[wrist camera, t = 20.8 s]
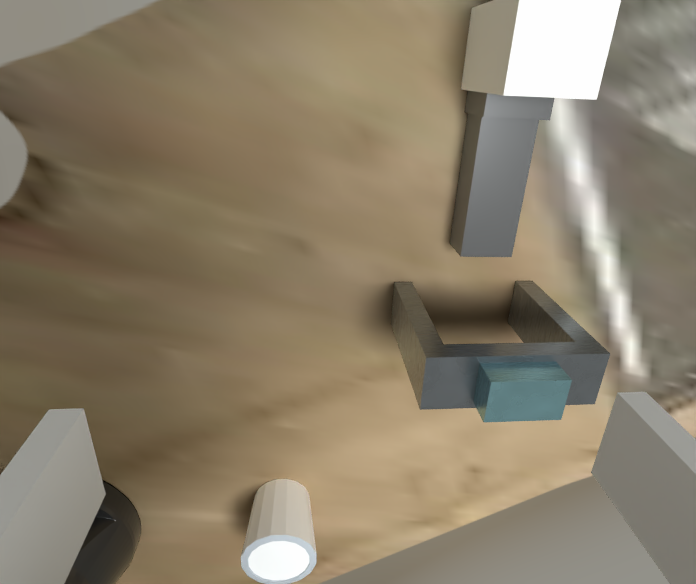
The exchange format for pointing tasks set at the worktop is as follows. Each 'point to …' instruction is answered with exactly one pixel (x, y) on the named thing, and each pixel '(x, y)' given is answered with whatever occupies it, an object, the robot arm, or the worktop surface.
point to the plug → (519, 103)
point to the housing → (501, 360)
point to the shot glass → (279, 534)
